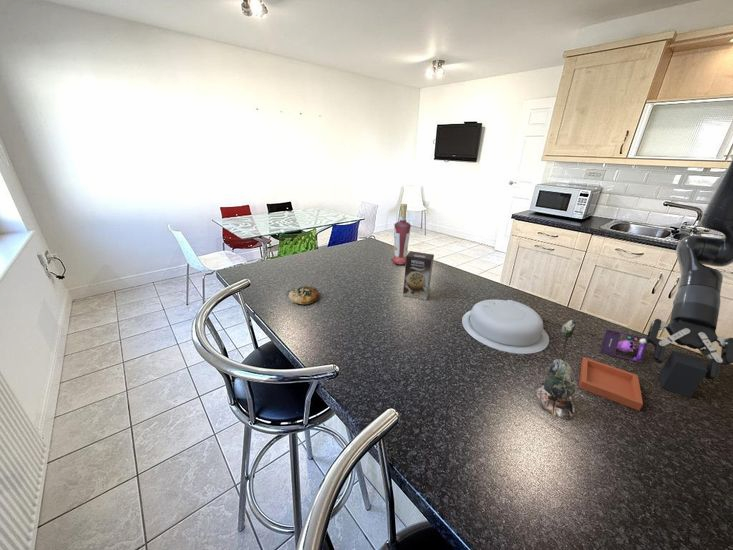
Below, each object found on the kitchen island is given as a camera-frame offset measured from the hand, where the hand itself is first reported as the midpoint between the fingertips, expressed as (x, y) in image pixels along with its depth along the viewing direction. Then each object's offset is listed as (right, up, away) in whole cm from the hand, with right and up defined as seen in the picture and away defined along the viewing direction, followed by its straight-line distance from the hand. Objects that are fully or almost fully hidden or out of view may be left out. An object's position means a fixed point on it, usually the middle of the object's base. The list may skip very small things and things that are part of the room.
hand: (683, 370), depth 68 cm
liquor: (-58, +27, +72) cm, 96 cm away
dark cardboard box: (-55, +14, +43) cm, 71 cm away
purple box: (-3, 0, +14) cm, 14 cm away
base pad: (-15, -4, +3) cm, 16 cm away
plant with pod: (-32, -7, -3) cm, 33 cm away
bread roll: (-96, +13, +39) cm, 105 cm away
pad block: (0, -5, +2) cm, 5 cm away
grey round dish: (-31, +5, +24) cm, 39 cm away
